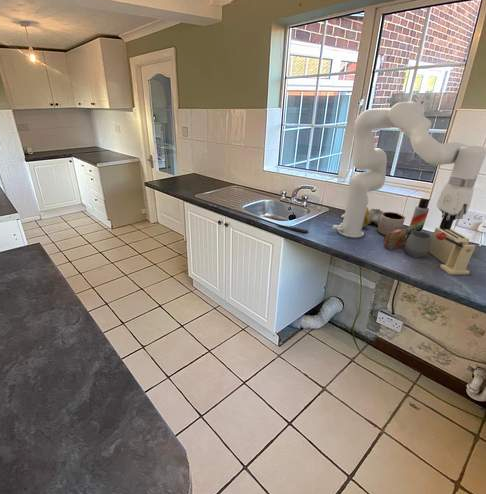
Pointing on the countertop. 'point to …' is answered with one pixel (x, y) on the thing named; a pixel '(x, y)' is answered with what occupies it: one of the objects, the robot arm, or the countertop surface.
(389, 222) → the planter
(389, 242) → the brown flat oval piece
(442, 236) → the red knob lever
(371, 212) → the fossil
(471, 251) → the lever bracket
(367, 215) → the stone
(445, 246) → the toaster
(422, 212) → the spray bottle
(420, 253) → the cup
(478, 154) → the robot arm
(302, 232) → the knife
